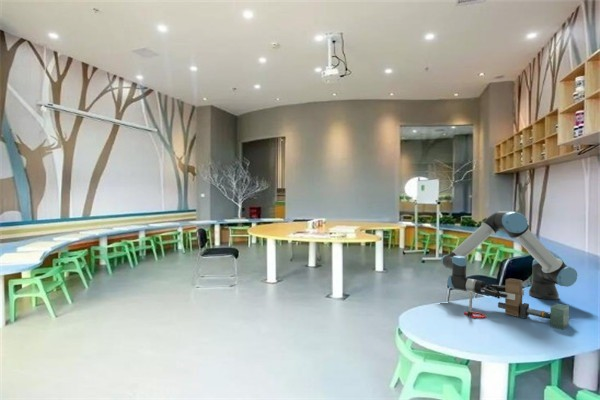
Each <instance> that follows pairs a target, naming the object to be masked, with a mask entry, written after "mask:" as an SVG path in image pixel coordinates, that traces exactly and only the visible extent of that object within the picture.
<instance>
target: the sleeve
mask: <svg viewBox="0 0 600 400" xmlns="http://www.w3.org/2000/svg"><path fill="white" fill-rule="evenodd" d="M523 283H524V282H523V280H521V279H517V278H507V279H505V284H504V286H505V293H510V294H515V300H511V299H506V298H504V299H505V300H504V301H505V302H504V303H505V309H504V314H506V315H511V316H513V317H514V316H515V317H520V316H521V313H520V312H519V306H521V305H522V304H523V295H522V290H523V285H524V284H523Z"/></svg>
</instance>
